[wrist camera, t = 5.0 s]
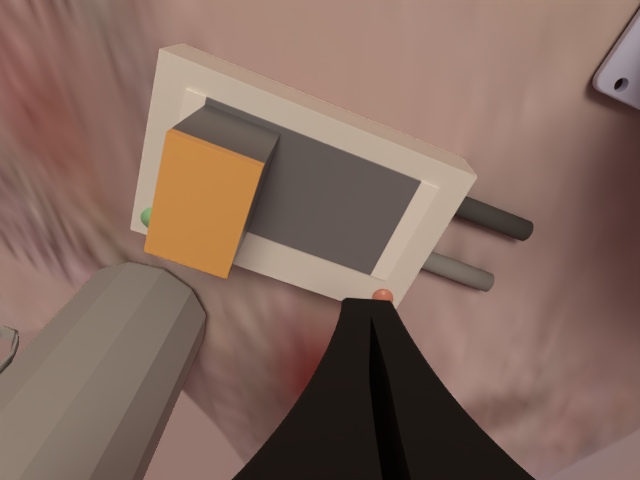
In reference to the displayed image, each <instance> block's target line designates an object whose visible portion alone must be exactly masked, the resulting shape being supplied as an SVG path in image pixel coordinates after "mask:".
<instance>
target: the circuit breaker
mask: <svg viewBox="0 0 640 480" xmlns="http://www.w3.org/2000/svg"><path fill="white" fill-rule="evenodd" d="M205 104H206V105H209V106H211V107H214V108H216V109H219V110H221V111H224V112H227V113H229V114H232V115H234V116H237V117H239V118H242V119H245V120H247V121H250V122H252V123H255V124H257V125H260V126H262V127H265V128H268V129H270V130H273V131H275V132H278V133H280V137H279V140H278V143H277V146H276V149H275V152H274V155H273V158H272V161H271V164H270V167H269V170H268V173H267V176H266V179H265V182H264V185H263V188H262V191H261V194H260V197H259V200H258V203H257V206H256V209H255V212H254V215H253V218H252V221H251V224H250V227H249V229H248V231H247V234H246V236H245V238H244V241H243V243H242V245H241V247H240V250H239V252H238V254H237V257H236V259H235V261H234V263H233V264H234V265H237V266H239V267H242V268H245V269H248V270H251V271H254V272H257V273H260V274H263V275H266V276H269V277H272V278H275V279H278V280H281V281H284V282H286V283H289V284H292V285H295V286H298V287H301V288H304V289H307V290H310V291H313V292H316V293H319V294H322V295H325V296H328V297H331V298H334V299H336V300H339V301H342V300H343V299H345V298H346V297H347V298H362V299H377V300H390V301H391V302H392V303H393V305H394V307H395V309H396V308H397V307H398V305H399V303H400V302H401V300H402V298H403V297H404V295H405V294H406V292H407V290H408V289H409V287H410V285H411V284H412V282H413V281H414V279H415V277H416V276H417V274H418V273H419V271H420V269H421V268H422V266H423V264H424V263H425V261H426V260H427V258H428V256H429V255H430V253H431V251H432V250H433V248H434V247H435V245H436V243H437V242H438V240H439V238H440V237H441V235H442V234H443V232H444V230H445V229H446V227H447V226H448V224H449V222H450V221H451V219H452V217H453V216H454V214H455V213H456V211H457V209H458V208H459V206H460V204H461V203H462V201H463V200H464V198H465V196H466V195H467V193H468V191H469V190H470V188H471V187H472V185H473V183H474V182H475V180H476V178H477V175H476V174H475V173H474V171H473V170H472V169H471V167H470V166H469V165H468V164H467V162H466V161H465V160H464V158H463V157H461V156H459V155H456V154H454V153H452V152H449V151H447V150H444V149H442V148H439V147H437V146H434V145H432V144H429V143H427V142H425V141H422V140H420V139H417V138H415V137H412V136H410V135H407V134H405V133H402V132H400V131H398V130H395V129H393V128H390V127H388V126H385V125H383V124H380V123H378V122H375V121H373V120H371V119H368V118H366V117H363V116H361V115H358V114H356V113H353V112H351V111H348V110H346V109H344V108H341V107H339V106H336V105H334V104H331V103H329V102H326V101H324V100H321V99H319V98H317V97H314V96H312V95H309V94H307V93H304V92H302V91H299V90H297V89H294V88H292V87H290V86H287V85H285V84H282V83H280V82H277V81H275V80H272V79H270V78H267V77H265V76H263V75H260V74H258V73H255V72H253V71H250V70H248V69H245V68H243V67H240V66H238V65H235V64H233V63H231V62H228V61H226V60H223V59H221V58H218V57H216V56H213V55H211V54H208V53H206V52H204V51H201V50H199V49H196V48H194V47H191V46H189V45H186V44H184V43H183V44H178V45H174V46H169V47H165V48H160V49H159V55H158V61H157V67H156V73H155V80H154V86H153V92H152V98H151V104H150V110H149V117H148V123H147V129H146V135H145V141H144V147H143V154H142V160H141V166H140V172H139V178H138V184H137V190H136V197H135V203H134V209H133V215H132V221H131V227H130V229H131V230H134V231H137V232H139V233H142V234H145V235H147V232H148V226H149V221H150V216H151V210H152V205H153V200H154V194H155V189H156V184H157V178H158V173H159V168H160V162H161V157H162V152H163V146H164V141H165V136H166V131H168V130H169V129H171V128H172V127H174V126H175V125H177V124H178V123H179V122H181V121H182V120H184V119H185V118H187V117H188V116H189V115H191V114H192V113H194V112H195V111H197V110H198V109H200V108H201V107H202V106H204V105H205Z"/></svg>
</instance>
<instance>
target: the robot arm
mask: <svg viewBox="0 0 640 480" xmlns="http://www.w3.org/2000/svg"><path fill="white" fill-rule="evenodd" d="M620 78H622V79H623V83H622V85H621V86H620V87H619V88H618V89H616V90H615V89H614V85H615V82H616V81H617V80H618V79H620ZM593 86H594V88H595V89H596V90H597V91H599V92H601V93H604V94H606V95H608V96H610V97H612V98H615V99H617V100H619V101H621V102H623V103H626V104H628V105H630V106H632V107H634V108H637V109H639V110H640V9H639V10H638V12H637V13H636V15H635V16H634V18H633V19H632V21H631V22H630V24H629V25H628V27H627V28H626V30H625V31H624V32H623V34H622V35H621V37H620V38H619V40H618V41H617V43H616V44H615V46H614V47H613V49H612V50H611V52H610V53H609V54H608V56H607V57H606V59H605V60H604V62H603V63H602V65H601V66H600V68H599V69H598V71H597V72H596V74H595V76H594V78H593ZM232 480H535V479H534V478H533V477H532V476H531V475H530V474H528V473H527V472H526V471H525V470H524V469H523V468H522V467H520V466H519V465H518V464H517V463H516V462H515V461H514V460H513V459H512V458H511V457H510V456H509V455H508V454H507V453H506V452H505V451H504V450H503V449H501V448H500V447H499V446H498V445H497V444H496V443H495V442H494V441H493V440H492V439H491V438H490V437H489V436H488V435H487V434H486V433H485V432H484V431H483V430H482V429H481V428H480V427H479V426H478V424H477V423H476V422H475V421H474V420H473V419H472V418H471V417H470V416H469V415H468V414H467V412H466V411H465V410H464V409H463V408H462V407H461V405H460V404H459V403H458V402H457V401H456V400H455V398H454V397H453V396H452V395H451V393H450V392H449V391H448V390H447V388H446V387H445V386H444V385H443V383H442V382H441V381H440V379H439V378H438V377H437V375H436V374H435V372H434V371H433V370H432V368H431V367H430V365H429V364H428V363H427V361H426V360H425V358H424V357H423V355H422V354H421V352H420V351H419V349H418V347H417V346H416V344H415V343H414V341H413V340H412V338H411V336H410V335H409V333H408V331H407V330H406V328H405V326H404V324H403V323H402V321H401V319H400V317H399V315H398V313H397V311H396V309H395V307H394V305H393V303H392V302H391V301H390V300H377V299H362V298H347V297H346V298H345V299H343V300H342V306H341V312H340V316H339V320H338V323H337V326H336V329H335V331H334V334H333V336H332V338H331V341H330V343H329V345H328V348H327V350H326V352H325V354H324V356H323V358H322V360H321V362H320V364H319V366H318V367H317V369H316V371H315V373H314V375H313V377H312V378H311V380H310V382H309V383H308V385H307V387H306V388H305V390H304V391H303V393H302V394H301V396H300V398H299V399H298V401H297V402H296V403H295V405H294V406H293V408H292V409H291V410H290V412H289V413H288V415H287V416H286V417H285V419H284V420H283V421H282V423H281V424H280V425H279V427H278V428H277V429H276V431H275V432H274V433H273V434H272V435H271V437H270V438H269V439H268V440H267V441H266V442H265V444H264V445H263V446H262V447H261V448H260V450H259V451H258V452H257V453H256V454H255V455H254V457H253V458H252V459H251V460H250V461H249V462H248V463H247V464H246V465H245V467H244V468H243V469H242V470H241V471H240V472H239V473H238V474H237V475H236V476H235V477H234V478H233V479H232Z"/></svg>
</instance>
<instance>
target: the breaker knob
mask: <svg viewBox="0 0 640 480" xmlns="http://www.w3.org/2000/svg"><path fill="white" fill-rule="evenodd" d="M279 137H280V133H278V132H275V131H273V130H270V129H268V128H265V127H262V126H260V125H257V124H255V123H252V122H250V121H247V120H245V119H242V118H239V117H237V116H234V115H232V114H229V113H227V112H224V111H221V110H219V109H216V108H214V107H211V106H209V105H206V104H205V105H204V106H202V107H201V108H200V109H198V110H197V111H195V112H194V113H192V114H191V115H189V116H188V117H187V118H185V119H184V120H182V121H181V122H179V123H178V124H177V125H175V126H174V127H172V128H171V129H169V130H168V131H166V136H165V141H164V146H163V152H162V157H161V162H160V168H159V173H158V178H157V184H156V189H155V194H154V200H153V205H152V210H151V216H150V221H149V226H148V232H147V237H146V242H145V248H144V252H147V253H150V254H153V255H156V256H159V257H162V258H165V259H168V260H171V261H174V262H177V263H180V264H183V265H186V266H189V267H192V268H195V269H198V270H201V271H204V272H207V273H210V274H213V275H216V276H219V277H222V278H225V279H227V277H228V275H229V273H230V270H231V268H232V266H233V263H234V261H235V259H236V257H237V254H238V252H239V250H240V247H241V245H242V243H243V241H244V238H245V236H246V234H247V231H248V229H249V227H250V224H251V221H252V218H253V215H254V212H255V209H256V206H257V203H258V200H259V197H260V194H261V191H262V188H263V185H264V182H265V179H266V176H267V173H268V170H269V167H270V164H271V161H272V158H273V155H274V152H275V149H276V146H277V143H278V140H279Z"/></svg>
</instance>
